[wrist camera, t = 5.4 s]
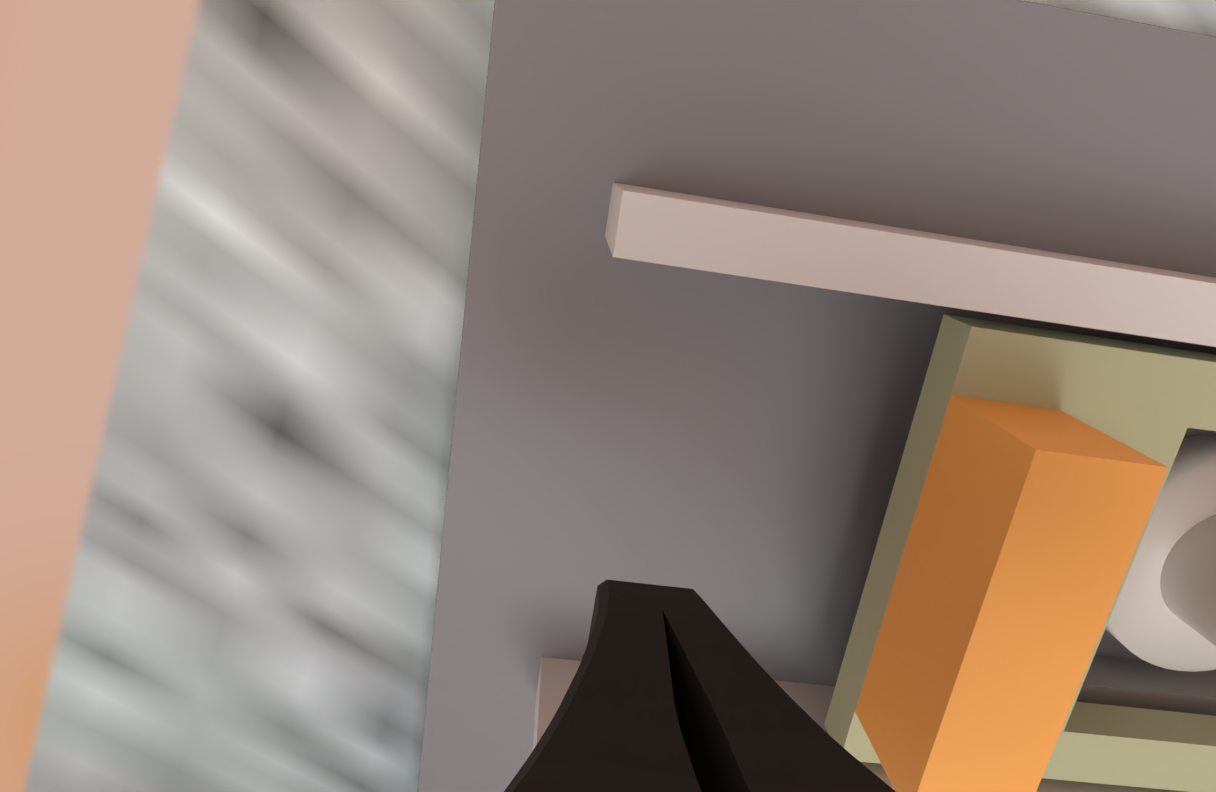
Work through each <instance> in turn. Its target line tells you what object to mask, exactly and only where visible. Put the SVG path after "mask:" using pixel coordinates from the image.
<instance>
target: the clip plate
mask: <svg viewBox="0 0 1216 792" xmlns="http://www.w3.org/2000/svg"><path fill="white" fill-rule="evenodd" d="M1187 428H1195V429H1202V430H1209V431H1216V355H1215V354H1209V353H1202V352H1195V351H1188V350H1182V349H1175V348H1168V347H1161V346H1155V345H1148V344H1141V343H1134V342H1128V341H1121V340H1114V339H1107V338H1101V337H1094V336H1087V335H1080V334H1074V333H1067V332H1060V331H1053V330H1047V329H1040V328H1033V327H1026V326H1020V325H1013V324H1006V323H999V322H993V321H986V320H979V319H972V318H966V317H959V316H952V315H945V314H944V315H943V318H942V322H941V325H940V328H939V332H938V335H937V339H936V342H935V346H934V349H933V353H932V356H931V359H930V363H929V366H928V370H927V373H926V377H925V380H924V383H923V387H922V390H921V394H920V397H919V401H918V404H917V407H916V411H915V414H914V418H913V421H912V425H911V428H910V431H909V435H908V438H907V442H906V445H905V449H904V452H903V455H902V459H901V462H900V466H899V469H898V473H897V476H896V479H895V483H894V486H893V490H892V493H891V497H890V500H889V504H888V507H887V510H886V514H885V517H884V521H883V524H882V528H881V531H880V534H879V538H878V541H877V545H876V548H875V552H874V555H873V558H872V562H871V565H870V569H869V572H868V576H867V579H866V582H865V586H864V589H863V593H862V596H861V600H860V603H859V606H858V610H857V613H856V617H855V620H854V624H853V627H852V631H851V634H850V637H849V641H848V644H847V648H846V651H845V655H844V658H843V661H842V665H841V668H840V672H839V675H838V679H837V682H836V685H835V689H834V692H833V696H832V699H831V703H830V706H829V709H828V713H827V716H826V720H825V723H824V725H825V727H826V729H827V732H828V734H829V735H830V736H831V737H832V738H833V739H834V740H835V741H837V742H838V743H839V744H840V745H841V746H842V747H843V748H844V749H846V750H847V751H848V752H849V753H850V754H851V755H852V756H854V757H855V758H856V759H857V760H859V761H860V762H869V763H880V764H882V766H883V768H884V770H885V772H886V774H887V776H888V778H889V780H890V782H891V784H892V786H893V788H894V790H895V791H896V792H1036V791H1037V789H1038V786H1039V784H1040V781H1041V779H1042V778H1044V779H1055V780H1066V781H1077V782H1088V783H1099V784H1110V785H1121V786H1132V787H1143V788H1154V789H1165V790H1175V791H1186V792H1216V716H1212V715H1203V714H1193V713H1183V712H1173V711H1163V710H1153V709H1143V708H1133V707H1124V706H1114V705H1104V704H1094V703H1084V702H1076V700H1077V697H1078V695H1079V692H1080V690H1081V688H1082V685H1083V683H1084V680H1085V678H1086V675H1087V673H1088V670H1089V668H1090V666H1091V663H1092V661H1093V658H1094V656H1095V653H1096V651H1097V648H1098V646H1099V644H1100V641H1101V639H1102V636H1103V634H1104V631H1105V629H1106V626H1107V624H1108V622H1109V619H1110V617H1111V614H1112V612H1113V609H1114V607H1115V604H1116V602H1117V600H1118V597H1119V595H1120V592H1121V590H1122V587H1123V585H1124V582H1125V580H1126V577H1127V575H1128V573H1129V570H1130V568H1131V565H1132V563H1133V560H1134V558H1135V555H1136V553H1137V551H1138V548H1139V546H1140V543H1141V541H1142V538H1143V536H1144V533H1145V531H1146V529H1147V526H1148V524H1149V521H1150V519H1151V516H1152V514H1153V511H1154V509H1155V507H1156V504H1157V502H1158V499H1159V497H1160V494H1161V492H1162V489H1163V487H1164V485H1165V482H1166V480H1167V477H1168V475H1169V472H1170V470H1171V467H1172V465H1173V462H1174V460H1175V458H1176V455H1177V453H1178V450H1179V448H1180V445H1181V443H1182V440H1183V438H1184V436H1185V433H1186V431H1187Z"/></svg>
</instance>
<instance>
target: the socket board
mask: <svg viewBox="0 0 1216 792" xmlns="http://www.w3.org/2000/svg"><path fill="white" fill-rule="evenodd" d="M944 314H945V315H952V316H959V317H966V318H972V319H979V320H986V321H993V322H999V323H1006V324H1013V325H1020V326H1026V327H1033V328H1040V329H1047V330H1053V331H1060V332H1067V333H1074V334H1080V335H1087V336H1094V337H1101V338H1107V339H1114V340H1121V341H1128V342H1134V343H1141V344H1148V345H1155V346H1161V347H1168V348H1175V349H1182V350H1188V351H1195V352H1202V353H1209V354H1215V355H1216V37H1213V36H1207V35H1202V34H1197V33H1191V32H1186V31H1181V30H1176V29H1170V28H1165V27H1160V26H1154V25H1149V24H1144V23H1139V22H1133V21H1128V20H1123V19H1117V18H1112V17H1107V16H1102V15H1096V14H1091V13H1086V12H1080V11H1075V10H1070V9H1065V8H1059V7H1054V6H1049V5H1043V4H1038V3H1033V2H1028V1H1022V0H495V4H494V14H493V25H492V35H491V45H490V55H489V66H488V76H487V86H486V96H485V107H484V117H483V127H482V137H481V147H480V158H479V168H478V178H477V188H476V199H475V209H474V219H473V229H472V240H471V250H470V260H469V270H468V281H467V291H466V301H465V311H464V321H463V332H462V342H461V352H460V362H459V373H458V383H457V393H456V403H455V414H454V424H453V434H452V444H451V455H450V465H449V475H448V485H447V495H446V506H445V516H444V526H443V536H442V547H441V557H440V567H439V577H438V588H437V598H436V608H435V618H434V629H433V639H432V649H431V659H430V669H429V680H428V690H427V700H426V710H425V721H424V731H423V741H422V751H421V762H420V772H419V782H418V792H504V791H505V789H506V788H507V787H508V785H509V784H510V782H511V781H512V780H513V778H514V777H515V775H516V774H517V773H518V771H519V770H520V769H521V767H522V766H523V764H524V763H525V762H526V760H527V759H528V757H529V756H530V754H531V753H532V751H533V750H534V748H535V746H536V745H537V743H538V742H539V740H540V739H541V737H542V735H543V734H544V732H545V731H546V729H547V727H548V726H549V724H550V722H551V720H552V719H553V717H554V715H555V713H556V712H557V710H558V708H559V706H560V704H561V702H562V700H563V698H564V696H565V694H566V692H567V690H568V688H569V686H570V684H571V682H572V680H573V678H574V676H575V674H576V672H577V670H578V668H579V665H580V663H581V660H582V658H583V655H584V652H585V650H586V647H587V644H588V638H589V632H590V626H591V621H592V615H593V609H594V603H595V597H596V591H597V586H598V585H600V584H601V583H602V582H604V581H605V580H616V581H625V582H634V583H643V584H652V585H662V586H671V587H680V588H689V589H694V590H695V592H696V593H697V594H698V595H699V596H700V597H701V598H702V599H703V600H704V602H705V603H706V604H707V605H708V606H709V607H710V608H711V610H712V611H713V612H714V613H715V614H716V616H717V617H718V618H719V619H720V620H721V621H722V623H723V624H724V625H725V626H726V627H727V628H728V630H729V631H730V632H731V633H732V634H733V635H734V636H735V638H736V639H737V640H738V641H739V642H740V643H741V645H742V646H743V647H744V648H745V649H746V650H747V651H748V652H749V654H750V655H751V656H752V657H753V658H754V659H755V660H756V661H757V662H758V664H759V665H760V666H761V667H762V668H763V669H764V670H765V671H766V672H767V673H768V674H769V675H770V677H771V678H772V679H773V680H774V681H775V682H776V683H777V684H778V685H779V686H780V687H781V688H782V689H783V690H784V691H785V692H786V693H787V694H788V695H789V696H790V697H791V698H792V699H793V700H794V701H795V702H796V703H797V704H798V705H799V706H800V707H801V708H802V709H803V710H804V711H805V712H806V713H807V714H808V715H809V716H810V717H811V718H812V719H813V720H814V721H815V722H816V723H817V724H818V725H819V726H820V727H821V728H823V729H824V730H825V731H826V732H827V729H826V727H825V725H824V723H825V720H826V716H827V713H828V709H829V706H830V703H831V699H832V696H833V692H834V689H835V685H836V682H837V679H838V675H839V672H840V668H841V665H842V661H843V658H844V655H845V651H846V648H847V644H848V641H849V637H850V634H851V631H852V627H853V624H854V620H855V617H856V613H857V610H858V606H859V603H860V600H861V596H862V593H863V589H864V586H865V582H866V579H867V576H868V572H869V569H870V565H871V562H872V558H873V555H874V552H875V548H876V545H877V541H878V538H879V534H880V531H881V528H882V524H883V521H884V517H885V514H886V510H887V507H888V504H889V500H890V497H891V493H892V490H893V486H894V483H895V479H896V476H897V473H898V469H899V466H900V462H901V459H902V455H903V452H904V449H905V445H906V442H907V438H908V435H909V431H910V428H911V425H912V421H913V418H914V414H915V411H916V407H917V404H918V401H919V397H920V394H921V390H922V387H923V383H924V380H925V377H926V373H927V370H928V366H929V363H930V359H931V356H932V353H933V349H934V346H935V342H936V339H937V335H938V332H939V328H940V325H941V322H942V318H943V315H944ZM1199 434H1216V431H1209V430H1202V429H1195V428H1187V431H1186V433H1185V436H1184V437H1187V436H1193V435H1199ZM1076 702H1084V703H1094V704H1104V705H1114V706H1124V707H1133V708H1143V709H1153V710H1163V711H1173V712H1183V713H1193V714H1203V715H1212V716H1216V669H1215V670H1209V671H1196V672H1191V671H1177V670H1171V669H1165V668H1162V667H1159V666H1156V665H1153V664H1151V663H1149V662H1146V661H1144V660H1142V659H1141V658H1139V657H1138V656H1136V655H1135V654H1133V653H1132V652H1130V651H1129V650H1128V649H1127V648H1126V647H1125V646H1124V645H1123V644H1122V643H1120V642H1119V641H1118V640H1117V639H1116V638H1115V637H1114V636H1113V635H1112V634H1110V633H1109V632H1108V631H1107V630H1106V629H1105V631H1104V634H1103V636H1102V639H1101V641H1100V644H1099V646H1098V648H1097V651H1096V653H1095V656H1094V658H1093V661H1092V663H1091V666H1090V668H1089V670H1088V673H1087V675H1086V678H1085V680H1084V683H1083V685H1082V688H1081V690H1080V692H1079V695H1078V697H1077V700H1076ZM827 733H828V732H827ZM861 763H862V764H863V765H865V766H866V767H867V768H868V769H869V770H871V771H872V772H873V773H874V774H875V775H877V776H878V777H879V778H880V779H881V780H883V781H884V782H885V783H886V784H887V785H889V786H890V787H891V788H892V789H894V788H893V786H892V784H891V782H890V780H889V778H888V776H887V774H886V772H885V770H884V768H883V766H882V764H880V763H869V762H861ZM1036 792H1186V791H1175V790H1165V789H1154V788H1143V787H1132V786H1121V785H1110V784H1099V783H1088V782H1077V781H1066V780H1055V779H1044V778H1042V779H1041V781H1040V784H1039V786H1038V789H1037V791H1036Z"/></svg>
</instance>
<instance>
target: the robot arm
mask: <svg viewBox="0 0 1216 792" xmlns="http://www.w3.org/2000/svg"><path fill="white" fill-rule="evenodd" d="M504 792H896V791H895V790H894V789H892V788H891V787H890V786H889V785H887V784H886V783H885V782H884V781H883V780H881V779H880V778H879V777H878V776H877V775H875V774H874V773H873V772H872V771H871V770H869V769H868V768H867V767H866V766H865V765H863V764H862V763H861V762H860V761H859V760H857V759H856V758H855V757H854V756H852V755H851V754H850V753H849V752H848V751H847V750H846V749H844V748H843V747H842V746H841V745H840V744H839V743H838V742H837V741H835V740H834V739H833V738H832V737H831V736H830V735H829V734H828V733H827V732H826V731H825V730H824V729H823V728H821V727H820V726H819V725H818V724H817V723H816V722H815V721H814V720H813V719H812V718H811V717H810V716H809V715H808V714H807V713H806V712H805V711H804V710H803V709H802V708H801V707H800V706H799V705H798V704H797V703H796V702H795V701H794V700H793V699H792V698H791V697H790V696H789V695H788V694H787V693H786V692H785V691H784V690H783V689H782V688H781V687H780V686H779V685H778V684H777V683H776V682H775V681H774V680H773V679H772V678H771V677H770V675H769V674H768V673H767V672H766V671H765V670H764V669H763V668H762V667H761V666H760V665H759V664H758V662H757V661H756V660H755V659H754V658H753V657H752V656H751V655H750V654H749V652H748V651H747V650H746V649H745V648H744V647H743V646H742V645H741V643H740V642H739V641H738V640H737V639H736V638H735V636H734V635H733V634H732V633H731V632H730V631H729V630H728V628H727V627H726V626H725V625H724V624H723V623H722V621H721V620H720V619H719V618H718V617H717V616H716V614H715V613H714V612H713V611H712V610H711V608H710V607H709V606H708V605H707V604H706V603H705V602H704V600H703V599H702V598H701V597H700V596H699V595H698V594H697V593H696V592H695V590H694V589H689V588H680V587H671V586H662V585H652V584H643V583H634V582H625V581H616V580H605V581H604V582H602V583H601V584H600V585H598V586H597V591H596V597H595V603H594V609H593V615H592V621H591V626H590V632H589V638H588V644H587V647H586V650H585V652H584V655H583V658H582V660H581V663H580V665H579V668H578V670H577V672H576V674H575V676H574V678H573V680H572V682H571V684H570V686H569V688H568V690H567V692H566V694H565V696H564V698H563V700H562V702H561V704H560V706H559V708H558V710H557V712H556V713H555V715H554V717H553V719H552V720H551V722H550V724H549V726H548V727H547V729H546V731H545V732H544V734H543V735H542V737H541V739H540V740H539V742H538V743H537V745H536V746H535V748H534V750H533V751H532V753H531V754H530V756H529V757H528V759H527V760H526V762H525V763H524V764H523V766H522V767H521V769H520V770H519V771H518V773H517V774H516V775H515V777H514V778H513V780H512V781H511V782H510V784H509V785H508V787H507V788H506V789H505V791H504Z"/></svg>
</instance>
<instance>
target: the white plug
mask: <svg viewBox="0 0 1216 792" xmlns="http://www.w3.org/2000/svg"><path fill="white" fill-rule="evenodd" d="M1106 630H1107V631H1108V632H1109V633H1110V634H1112V635H1113V636H1114V637H1115V638H1116V639H1117V640H1118V641H1119V642H1120V643H1122V644H1123V645H1124V646H1125V647H1126V648H1127V649H1128V650H1129V651H1130V652H1132V653H1133V654H1135V655H1136V656H1138V657H1139V658H1141V659H1142V660H1144V661H1146V662H1149V663H1151V664H1153V665H1156V666H1159V667H1162V668H1165V669H1171V670H1177V671H1191V672H1196V671H1209V670H1215V669H1216V434H1199V435H1193V436H1187V437H1184V438H1183V440H1182V443H1181V445H1180V448H1179V450H1178V453H1177V455H1176V458H1175V460H1174V462H1173V465H1172V467H1171V470H1170V472H1169V475H1168V477H1167V480H1166V482H1165V485H1164V487H1163V489H1162V492H1161V494H1160V497H1159V499H1158V502H1157V504H1156V507H1155V509H1154V511H1153V514H1152V516H1151V519H1150V521H1149V524H1148V526H1147V529H1146V531H1145V533H1144V536H1143V538H1142V541H1141V543H1140V546H1139V548H1138V551H1137V553H1136V555H1135V558H1134V560H1133V563H1132V565H1131V568H1130V570H1129V573H1128V575H1127V577H1126V580H1125V582H1124V585H1123V587H1122V590H1121V592H1120V595H1119V597H1118V600H1117V602H1116V604H1115V607H1114V609H1113V612H1112V614H1111V617H1110V619H1109V622H1108V624H1107V626H1106Z"/></svg>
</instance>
